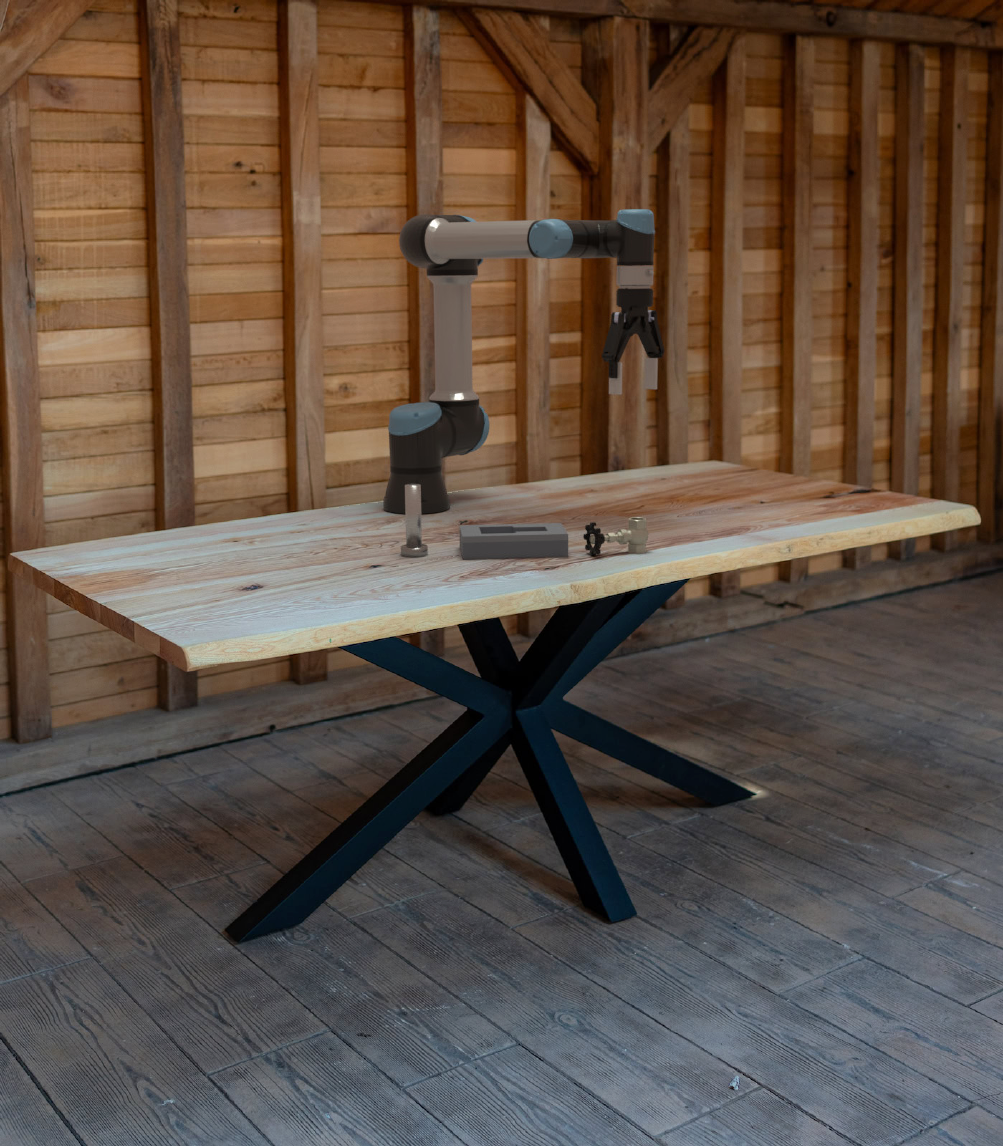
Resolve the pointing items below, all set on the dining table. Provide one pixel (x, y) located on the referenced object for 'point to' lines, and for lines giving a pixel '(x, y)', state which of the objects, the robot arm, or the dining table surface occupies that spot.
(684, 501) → the dining table surface
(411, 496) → the flanged metal peg
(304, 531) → the dining table surface
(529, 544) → the keyhole board
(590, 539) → the valve
